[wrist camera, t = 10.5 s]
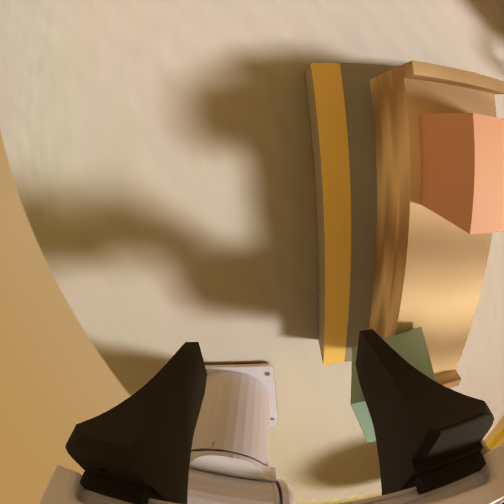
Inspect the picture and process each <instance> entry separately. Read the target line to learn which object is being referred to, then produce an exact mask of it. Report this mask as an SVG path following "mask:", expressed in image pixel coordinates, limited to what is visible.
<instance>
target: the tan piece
mask: <svg viewBox="0 0 504 504" xmlns="http://www.w3.org/2000/svg"><path fill="white" fill-rule="evenodd" d="M370 88H371V96H372V106H373V117H374V129H375V145H376V167H377V234H376V257H375V273H374V286H373V297H372V307H371V316H370V324H369V330H370V329H373V330H374V331H375V332H376V333H377V334H378V335H379V336H380V337H381V338H382V339H383V338H387V337H390V336H393V335H397V334H400V333H403V332H406V331H409V330H412V329H415V328H418V327H422V331H423V334H424V338H425V341H426V345H427V348H428V352H429V356H430V360H431V364H432V368H433V372H434V376H435V380H436V382H437V383H439V384H441V385H443V386H445V387H447V388H451V387H455V386H458V385H459V383H460V381H461V378H460V376H459V375H458V373H457V371H456V370H455V369H456V367H457V364H458V362H459V359H460V356H461V354H462V351H463V348H464V345H465V342H466V340H467V337H468V334H469V330H470V327H471V324H472V321H473V318H474V314H475V311H476V307H477V303H478V300H479V296H480V292H481V288H482V284H483V279H484V275H485V270H486V265H487V260H488V255H489V249H490V243H491V236H492V233H481V234H469V233H467V232H465V231H464V230H462V229H461V228H459V227H457V226H456V225H454V224H453V223H451V222H449V221H448V220H446V219H444V218H443V217H441V216H439V215H438V214H436V213H434V212H433V211H431V210H429V209H427V208H426V207H424V206H422V205H420V203H421V148H420V128H419V114H440V113H475V114H481V115H486V116H492V117H496V106H495V96H494V94H504V81H501V80H497V79H494V78H491V77H487V76H484V75H480V74H476V73H472V72H468V71H464V70H460V69H455V68H451V67H446V66H441V65H435V64H430V63H424V62H417V61H410V62H408V63H405V64H403V65H401V66H399V67H396V68H394V69H392V70H390V71H387V72H385V73H383V74H381V75H379V76H377V77H375V78H372V79H370Z"/></svg>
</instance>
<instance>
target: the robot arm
mask: <svg viewBox="0 0 504 504" xmlns="http://www.w3.org/2000/svg"><path fill="white" fill-rule="evenodd" d="M356 369H357V374H358V379H359V383H360V386H361V389H362V392H363V395H364V398H365V401H366V404H367V407H368V410H369V413H370V416H371V419H372V423H373V427H374V432H375V437H376V443H377V449H378V456H379V463H380V473H381V485H382V496H378V497H373V498H368V499H363V500H358V501H353V502H347V503H340V504H502V503H503V502H504V444H502V445H500V446H498V447H496V448H494V449H492V450H490V451H489V452H487V453H486V454H484V455H482V453H481V450H482V449H483V445H482V443H481V440H482V439H483V437H484V436H485V435H486V433H487V432H488V431H489V429H490V428H491V426H492V424H493V420H494V417H493V415H492V413H491V411H490V409H489V408H488V406H487V404H486V403H485V401H482V400H479V399H475V398H472V397H469V396H466V395H463V394H461V393H458V392H456V391H453V390H451V389H449V388H447V387H445V386H443V385H441V384H439V383H437V382H436V381H434V380H432V379H431V378H429V377H428V376H426V375H425V374H423V373H421V372H420V371H419V370H417V369H416V368H415V367H413V366H412V365H411V364H409V363H408V362H407V361H406V360H405V359H403V358H402V357H401V356H400V355H399V354H398V353H397V352H396V351H395V350H393V349H392V348H391V347H390V346H389V345H388V344H387V343H386V342H385V341H384V340H383V339H382V338H381V337H380V336H379V335H378V334H377V333H376V332H375V331H374V330H373V329H370V330H362V331H360V332H359V341H358V349H357V357H356ZM265 372H269V373H265ZM277 424H278V423H277V411H276V400H275V390H274V379H273V369H272V365H271V364H268V363H262V364H236V365H204V361H203V357H202V354H201V350H200V346H199V343H198V342H185V344H184V345H183V346H182V347H181V348H180V349H179V350H178V351H177V352H176V354H175V355H174V356H173V357H172V358H171V359H170V360H169V362H168V363H167V364H166V365H165V366H164V367H163V368H162V369H161V370H160V371H159V372H158V373H157V374H156V375H155V376H154V377H153V378H152V379H151V380H150V381H149V382H148V383H147V384H146V385H145V386H143V387H142V388H141V389H140V390H139V391H137V392H136V393H135V394H133V395H132V396H131V397H129V398H128V399H126V400H125V401H124V402H122V403H120V404H119V405H117V406H116V407H114V408H112V409H111V410H109V411H107V412H105V413H103V414H101V415H99V416H97V417H94V418H92V419H90V420H87V421H84V422H82V423H79V424H77V425H76V426H75V429H74V430H73V432H72V434H71V436H70V438H69V440H68V442H67V444H66V449H67V452H68V453H69V455H70V456H71V457H72V458H73V459H74V460H75V461H76V462H77V463H78V464H79V465H80V466H81V467H82V468H83V469H84V470H85V472H84V474H83V476H82V475H81V474H79V473H78V472H75V471H73V470H70V469H67V468H64V467H62V466H60V465H58V466H57V467H56V469H55V471H54V473H53V475H52V478H51V480H50V482H49V484H48V486H47V488H46V491H45V493H44V495H43V497H42V499H41V502H40V504H294V498H293V494H292V492H291V490H290V488H289V487H288V485H287V484H286V483H285V482H284V481H283V480H278V479H276V468H273V467H269V448H270V427H273V426H276V425H277Z"/></svg>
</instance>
